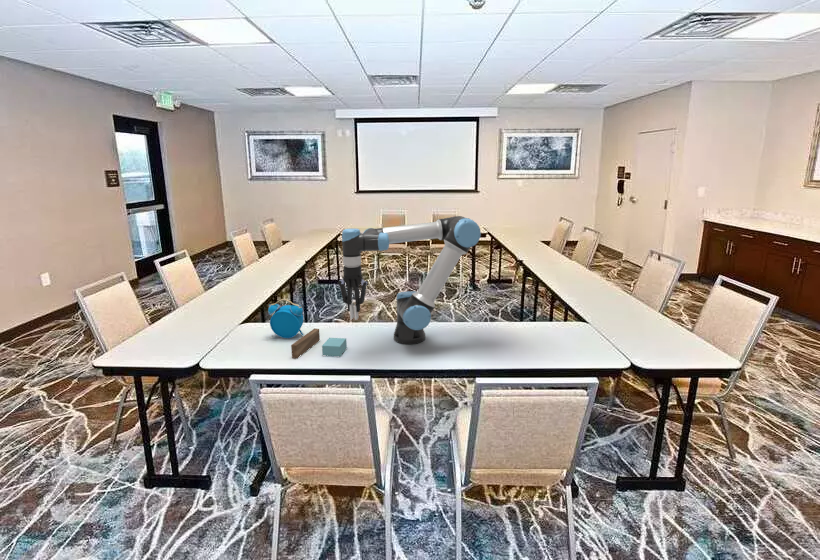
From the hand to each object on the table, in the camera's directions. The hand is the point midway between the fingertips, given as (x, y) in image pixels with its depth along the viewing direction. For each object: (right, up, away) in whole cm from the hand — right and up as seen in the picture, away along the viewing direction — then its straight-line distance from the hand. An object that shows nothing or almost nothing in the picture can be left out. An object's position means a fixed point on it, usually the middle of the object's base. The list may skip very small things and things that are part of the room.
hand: (354, 318), depth 205 cm
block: (-9, -16, +7) cm, 20 cm away
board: (-23, -15, +10) cm, 29 cm away
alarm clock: (-35, -11, +26) cm, 45 cm away
